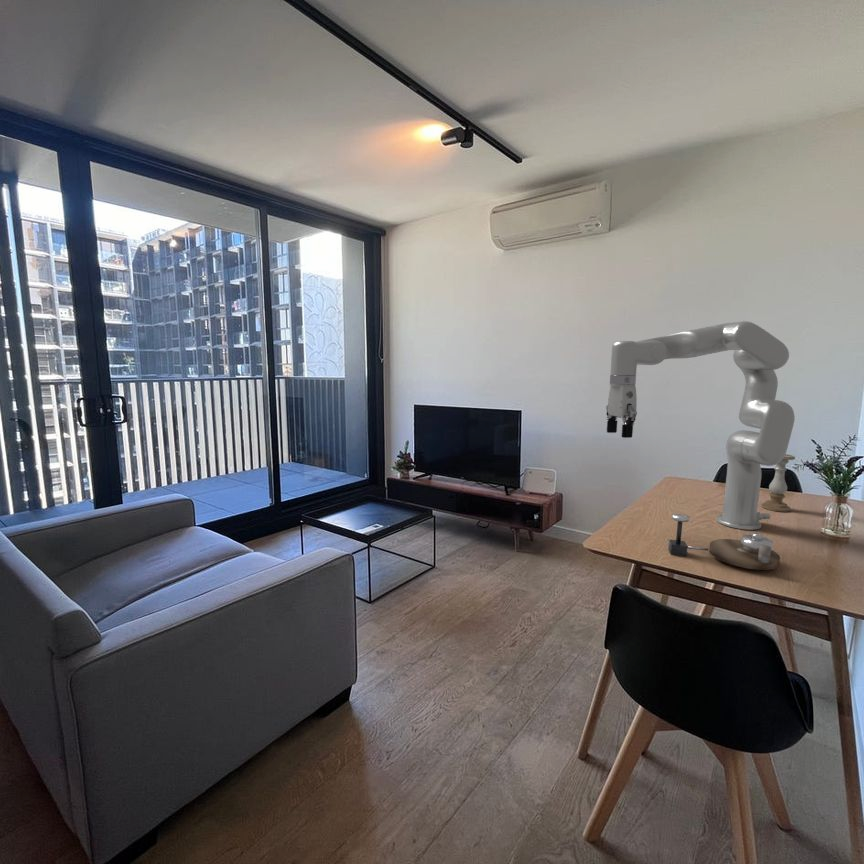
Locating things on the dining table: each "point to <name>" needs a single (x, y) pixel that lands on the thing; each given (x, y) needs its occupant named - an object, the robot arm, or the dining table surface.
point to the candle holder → (778, 487)
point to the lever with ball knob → (677, 545)
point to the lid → (754, 543)
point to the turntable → (744, 555)
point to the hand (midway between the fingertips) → (618, 434)
